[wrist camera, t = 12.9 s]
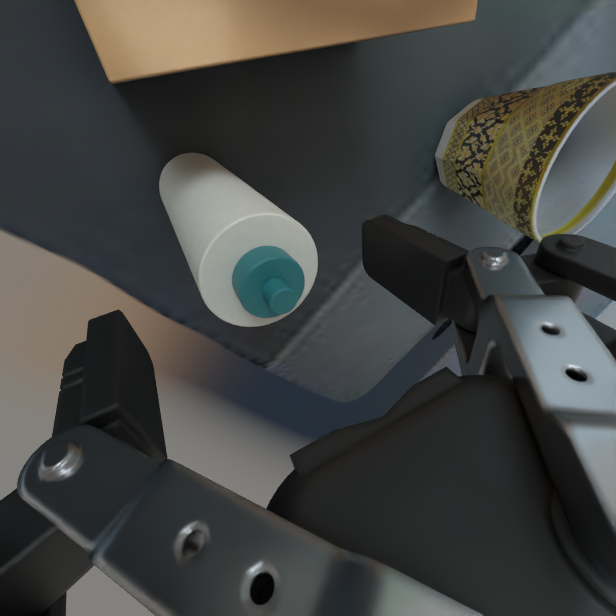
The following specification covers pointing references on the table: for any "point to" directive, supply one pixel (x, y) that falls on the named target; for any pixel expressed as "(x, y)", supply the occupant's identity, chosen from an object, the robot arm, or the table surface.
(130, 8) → the cabinet
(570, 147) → the ceramic cup
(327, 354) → the table surface
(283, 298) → the lotion bottle
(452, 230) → the table surface
